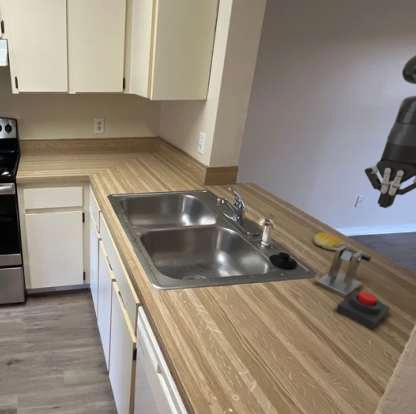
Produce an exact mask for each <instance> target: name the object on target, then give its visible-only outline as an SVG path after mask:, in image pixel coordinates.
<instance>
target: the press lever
mask: <svg viewBox="0 0 416 414" xmlns="http://www.w3.org/2000/svg"><path fill="white" fill-rule="evenodd" d="M357 252H358V251H357V250H353V249H351V248H349V249H348V250H346V251H343V254H342V256H341V259H343V260H342V261H346V262H349V263H350V261H351V258H352V256H353V255H354V254H355V253H357ZM361 260H363V261H366V262H370V261H371V260H372V256H370V255H367V254H365V253H363V255H362V257H361Z"/></svg>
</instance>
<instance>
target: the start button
mask: <svg viewBox="0 0 416 414" xmlns="http://www.w3.org/2000/svg"><path fill="white" fill-rule="evenodd" d="M359 292H360V293H359V296H358V300H359V301H360V302H362V303H364V304H366V305H370V306H374V305H375V303H376V300H377V299H378V298H377V297H376V295H374V294H372V293H370V292H367V291H366V292H365V291H359Z"/></svg>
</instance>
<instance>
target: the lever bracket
mask: <svg viewBox="0 0 416 414" xmlns="http://www.w3.org/2000/svg"><path fill="white" fill-rule="evenodd" d="M347 249H348V246H347V245H345V244H344V245H343V246H341V247H339V248H338V249H337V250H335V251H334V252H335V253H334V255H333V258H332V259H333V260H332V262H331V264H330V268H329V271H328V272H327V273H326V274H323V276H321V277H319V278H318V279H316V280H315V285H317V286H320V287H321V288H324V289H325V290H328V291H330V292H332V293H334V294H337V295H339V296H340V297H342V298H344V299H346V298H347V297H349V296H350V295H351V294H352V293H354V292H355V291H357V290H358V289H359V288H360V287H361V286H362V284H363V283H362V282H361V281H359V280H357V279H355V276H356V273H357V271H358V268H359V266H360V263H361V262H362V259H361V257H362V255H363V254H364V252H363V251H361V250H358V251H357V253H355V254H354V255H353V256H352V258H351V261H350V262H349V264H348V266H347V270H346V273H345V274H343V273H341V272H340V269H341V266H342V263H343V261H344V260H343V259H341V256H342V254H343V251H347Z"/></svg>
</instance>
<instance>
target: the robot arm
mask: <svg viewBox="0 0 416 414" xmlns="http://www.w3.org/2000/svg"><path fill="white" fill-rule="evenodd" d="M401 77H402V79H403V80H404V81H405V82H406V83H408V84H411V85H416V54H414V55H413V56H412V57H410V58H409V60H407V62H406V63H405V64H404V66H403V68H402V71H401ZM364 173H365V175H366V177H367V179H368V181H369V182H370V185H371V186H372V188H373V190H377V191H379V192H380V195H379V197H378V200H377V204H378V205H379V207H380V208H383V209H388V208H390V207H392V205H393V204H394V202H395V199H396V198H397V196H404V195H405V194H407V193H409V192H412V191H413V190H416V95H410V96H407V97H405V98H404V99H403V100H402V101H401V103H400V105H399V108H398V111H397V114H396V117H395V121H394V122H393V124H392V126H391V128H390V131H389V133H388V136H387V138H386V143H385V145H384V149H383V151H382V155H381V157H380V160H379V161H377V162H376V165H374V166H369V167H367V168H364ZM378 173H379V175H380V177H381V178H382V181H381V180H380V177H379V176H378ZM412 178H413V180H412V182H413V183H411V184H409V185H407V186H405V187H403V188H401V187H402V186H403V184H404V183H406V182H407V181H409V180H411V179H412Z"/></svg>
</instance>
